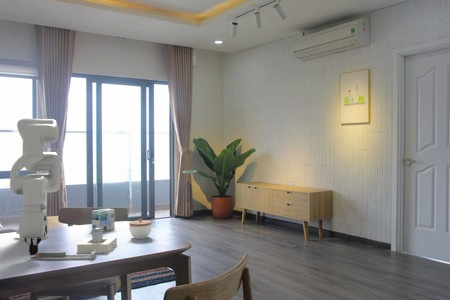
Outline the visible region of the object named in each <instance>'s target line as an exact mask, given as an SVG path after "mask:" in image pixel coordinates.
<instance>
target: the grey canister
mask: <svg viewBox="0 0 450 300" xmlns="http://www.w3.org/2000/svg"><path fill="white" fill-rule="evenodd" d="M91 238H92V243H103V238H104V235H103V228H101V227H97V228H92V227H91Z"/></svg>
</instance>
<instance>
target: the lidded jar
mask: <svg viewBox="0 0 450 300" xmlns="http://www.w3.org/2000/svg"><path fill="white" fill-rule="evenodd" d="M151 231H152V221H151V220H146V219H145V220H144V219H142V218H139V219H138V220H132V221H129V232H130V234H131V236H132V238H134V240H145V239H147V238H148V237H149V235H150V234H151ZM144 238H145V239H144Z"/></svg>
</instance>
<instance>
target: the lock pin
mask: <svg viewBox="0 0 450 300" xmlns="http://www.w3.org/2000/svg"><path fill="white" fill-rule="evenodd" d="M66 252H67V251H38V252H37V253H36V257H66V255H67V253H66Z"/></svg>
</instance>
